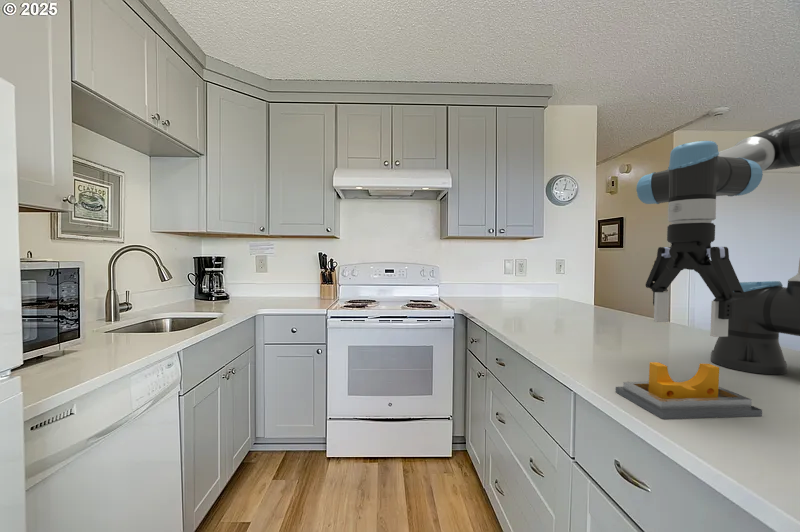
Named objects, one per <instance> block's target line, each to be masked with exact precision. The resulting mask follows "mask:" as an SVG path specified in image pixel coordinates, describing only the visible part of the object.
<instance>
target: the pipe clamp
mask: <svg viewBox="0 0 800 532" xmlns="http://www.w3.org/2000/svg"><path fill="white" fill-rule="evenodd" d="M698 365H699V366H698V370H697V371H696V373H695V375H693V376H692V378H690V379H688V380H684V381H685V382H674V381H675V380H673V379H672V377H671V376H670V373H669V370H668V369H669V368H668V366H667V365H665V364H663V363H662V362H659V361H655V362H653V361H652V362H650V361H649V368H648V369H649V370H648V371H649V373H648V382H649V391H648V392H650V393H652V394H654V395H656V396H658V397H660V398H662V399H682V398H718V388H719V387H720V386H719V384H720V380H719V379H720V366H717V365H714V364H711V363H699V364H698Z"/></svg>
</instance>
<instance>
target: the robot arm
mask: <svg viewBox="0 0 800 532" xmlns="http://www.w3.org/2000/svg"><path fill="white" fill-rule="evenodd" d="M718 147H719V146H718V144H717V143H716V142H715V141H711V140H701V141H700V140H699V141H693V142H686V143H683V144H679V145H677V146H675V147H674V148H673V149H671V151H670V153H669V154H670V156H669V162H668V163H669V164H668V167H667V169H665V170H662V171H657V172H655V171H654V172H652V173H649V174H648V173H647V174H645V175H643V176H642V177H640V179H639V180H638V181H637V183H636V188H635V189H636V191H635V192H636V194H637V195H636V196H637V198H638V199H639V200H640V202H642V203H643V204H645V205H655V204H656V205H660V204H663V203H668V206H667V207H668V208H667V221H668V223H671V224H669V225H667V227H666V228H667V229H666V230H667V231H666V236H667V237H666V241H667V242H668V243H670V245H671V246H665V247H664V246H659V247H658V248H657V251H656V252H657V253H656V258H655V261H654V264H653V265H652V268H651V271H650V272H649V274H648V278H647V280H646V282H645V288H647V289H650V290H651V291H652V293H653V294H652V296H653V297H652V304H653V305H652V306H654V307H653V322H655V323H668V322H669V302H670V301H669V300H670V297H669V296H670V292H669V290H668V288H669V286H670V285H671V284H672V283H673V282H674V280H675V279H676V277H677V276H678V275H679V274H680V273H681V271H683V270H689V271H692V270H693V271H694V272H696V273H697V274H698V275H699V276H700V277H701V279H702V281H703V282H704V284H705V285H706V286H707V288H708V289H709V290H710V292H711V294H712V295H713V296H714V299H713V300H711V305H710V306H711V308H710V309H711V310H710V311H711V312H710V336H711V337H714V338H716V337H717V340H716V342H715V344H714V348H713V349H712V350H711V352H710V361H711V362H712V363H713V364H715V365H718V366H721V367H724V368H727V369H732V370H736V371H742V372H747V373H754V374H763V375H784V374H785V375H786V373H787V372H788V370H787V369H788V363H787V361H786V360H785V357H784V353H783V350H782V348H781V347H782V346H781V345H780V341H779V340H780V339H779V337H780V334H784V335H785V334H786V335H790V336H797V337H800V258H799V261H798V271H797V273H796V274H795V275H793V276H792V277H790V278H789V279H787V287H785V286H783V284H782V282H781V281H779V280H778V281H777V280H772V281H770V280H769V281H744V282H740V281H739V278H738V275H737V274H736V271H735V269H734V267H733V264H732V262H731V260H730V255H729V253H730V251H729V248H728V247H727V246H712V245H711V244H712V243H713V242H714V241H715V240H716V225H715V223H714V222H712V221H715V220H716V218H717V216H716V215H717V213H716V211H717V197H723V196H728V197H737V196H744V195H747V194H750V193H752V192H753V191H754V190H756V189H757V188H758V186H760V184H761V182H762V179H763V176H764V174H763V172H764V171H770V170H778V169H789V168H795V167H800V118H799V119H794V120H791V121H787V122H783V123H780V124H778V125H775V126H773V127H771V128H768V129H765V130H763V131H760V132H758V133H756V134H754V135H752V136H751V135H750V136H749V137H745V138H743V139H741V140H740V141H737V143H736V144H735V145H734V146H731V147H728V148H726V149H723V150H720V151H719V148H718Z"/></svg>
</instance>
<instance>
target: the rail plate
mask: <svg viewBox="0 0 800 532" xmlns="http://www.w3.org/2000/svg"><path fill="white" fill-rule="evenodd" d="M673 381H674V382H685V381H686V380H673ZM648 391H649V381H623V386H615V394H618V395H620V396H621V397H623V398H625V399H626V400H628V401H630V402H632V403H634V404H636V405H637V406H639V407H641V408H642V409H644V410H646V411H647V412H649V413H651V414H653V415H654V414H655V416H656V417H658V418H660V419H661V418H662V419H661V420H674V419H677V420H678V419H679V420H680V419H681V420H682V418H683V419H707V418H708V419H709V418H710V419H712V418H713V419H714V418H716V417H717V418H742V417H743V418H744V417H762V416H763V409H762V408H759V407H757V406H753V405H752V400H753V399H751V398H750V397H746V396H745V395H741V394H739V393H736V392H733V391H731V390H729V389H726V388H723V387H721V386H719V388H718V398H682V399H662V398H660V397H658V396H656V395H654V394H652V393H650V392H648Z"/></svg>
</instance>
